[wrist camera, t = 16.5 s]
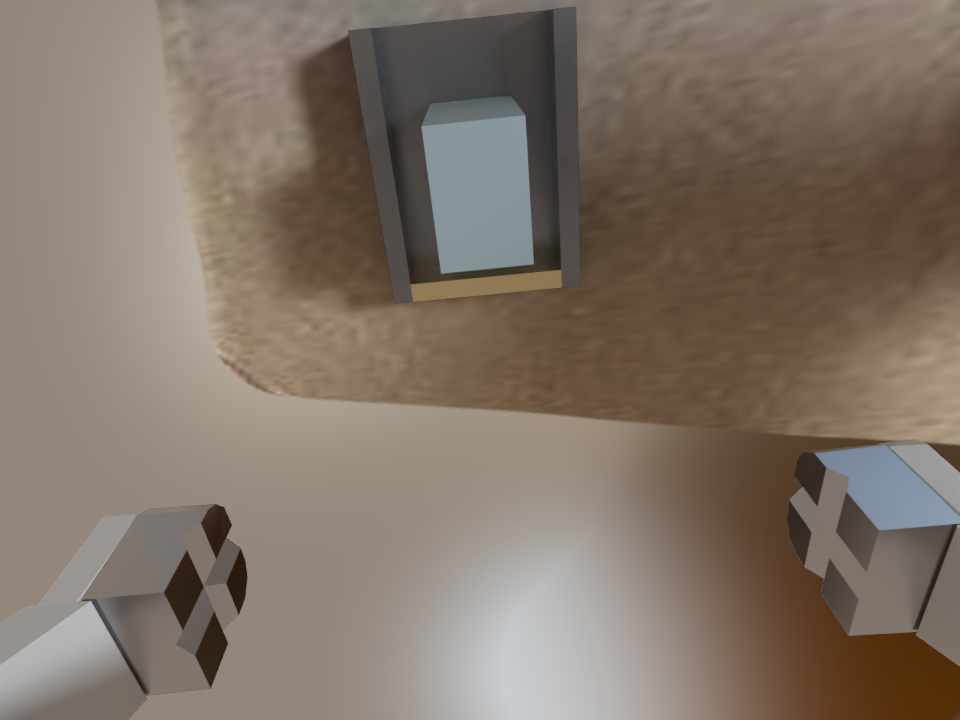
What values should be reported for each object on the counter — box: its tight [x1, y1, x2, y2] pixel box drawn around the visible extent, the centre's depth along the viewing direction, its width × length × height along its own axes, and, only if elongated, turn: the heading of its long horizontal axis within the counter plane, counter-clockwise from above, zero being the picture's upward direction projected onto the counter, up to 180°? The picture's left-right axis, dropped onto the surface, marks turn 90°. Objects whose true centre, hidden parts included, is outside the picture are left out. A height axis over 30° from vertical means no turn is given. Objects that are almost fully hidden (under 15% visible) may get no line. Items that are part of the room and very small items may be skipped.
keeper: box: [348, 7, 580, 304], centre depth 31 cm, size 10×13×3 cm
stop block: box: [421, 95, 534, 274], centre depth 28 cm, size 4×6×8 cm, turn 5°
